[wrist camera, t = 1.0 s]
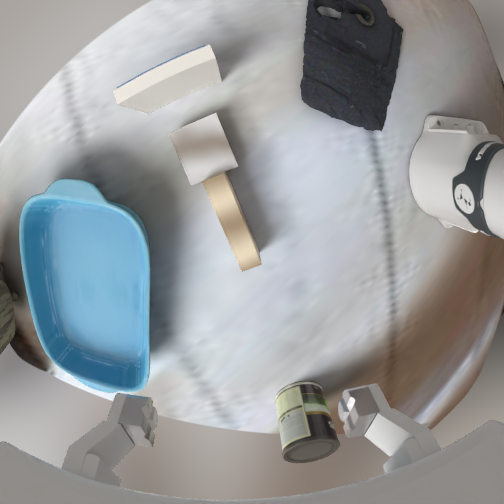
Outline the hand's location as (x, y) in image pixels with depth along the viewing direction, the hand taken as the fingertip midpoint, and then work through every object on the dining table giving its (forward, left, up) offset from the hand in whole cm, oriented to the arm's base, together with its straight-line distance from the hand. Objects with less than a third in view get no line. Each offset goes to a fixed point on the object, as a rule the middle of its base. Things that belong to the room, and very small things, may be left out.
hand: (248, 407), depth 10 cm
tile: (+1, -19, -28) cm, 34 cm away
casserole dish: (+26, +1, -28) cm, 38 cm away
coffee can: (+3, +38, -28) cm, 48 cm away
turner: (+1, -5, -28) cm, 28 cm away
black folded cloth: (-23, -17, -29) cm, 40 cm away
